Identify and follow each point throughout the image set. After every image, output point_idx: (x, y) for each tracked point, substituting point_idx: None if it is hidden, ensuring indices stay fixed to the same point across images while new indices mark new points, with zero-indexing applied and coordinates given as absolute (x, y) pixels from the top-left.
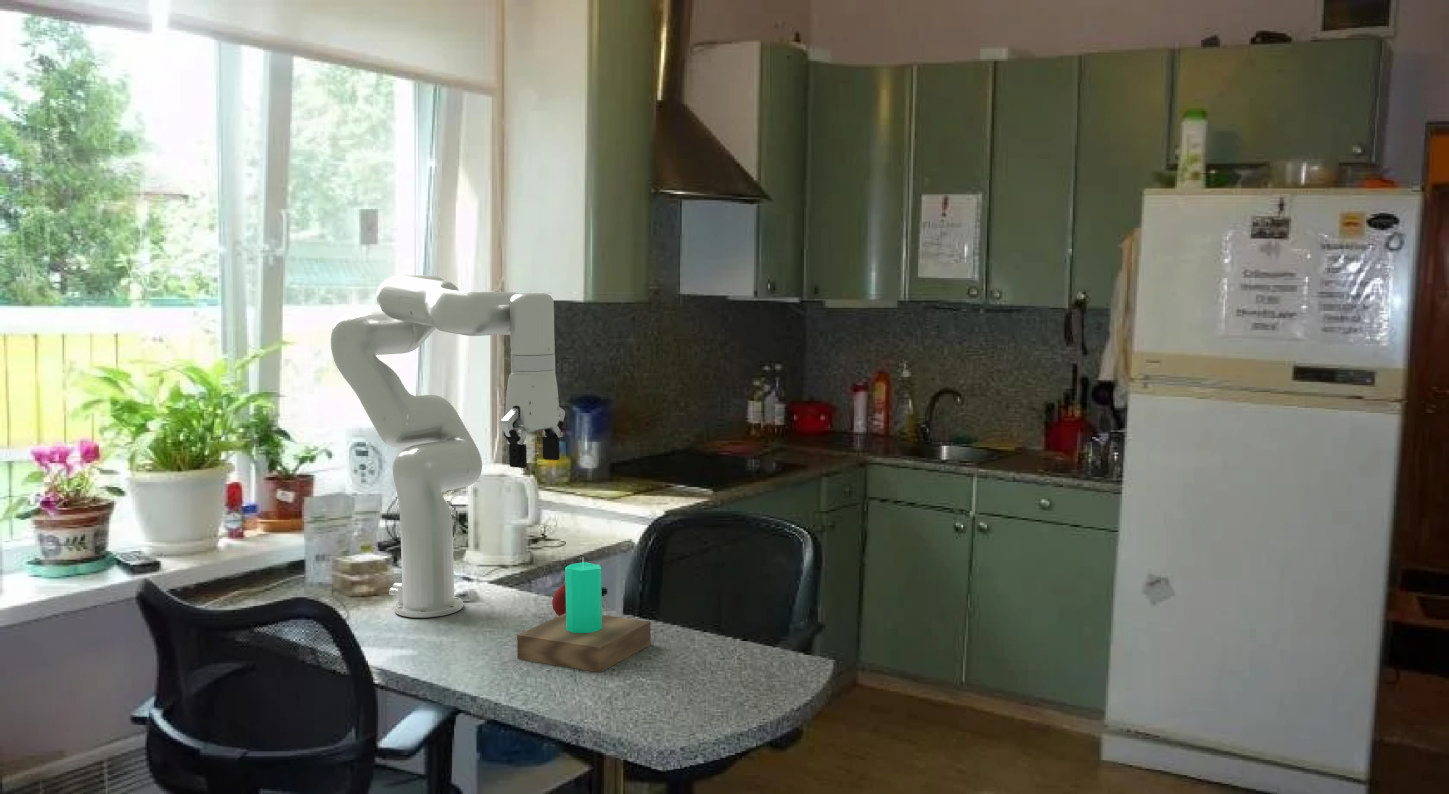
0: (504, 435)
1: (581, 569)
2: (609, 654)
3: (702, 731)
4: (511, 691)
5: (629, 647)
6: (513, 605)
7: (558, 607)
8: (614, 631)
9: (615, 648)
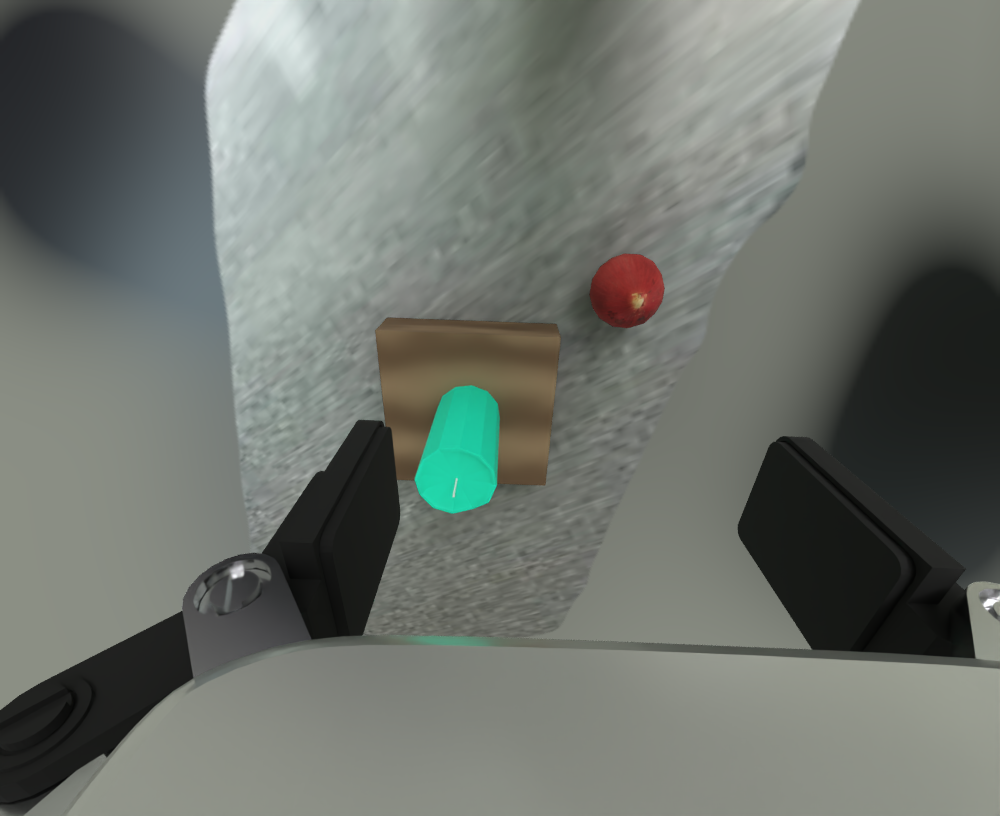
0: (40, 687)
1: (453, 476)
2: None
3: None
4: (270, 392)
5: None
6: (726, 54)
7: (591, 287)
8: None
9: None
